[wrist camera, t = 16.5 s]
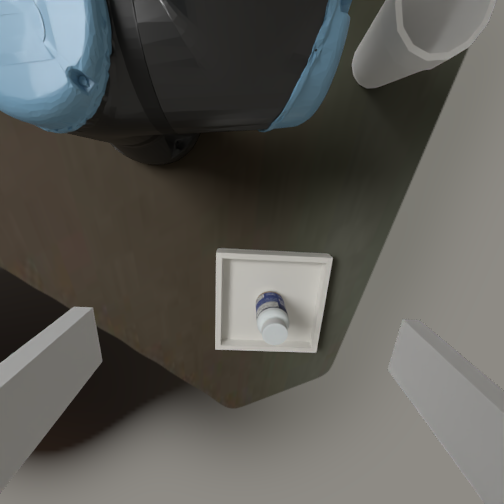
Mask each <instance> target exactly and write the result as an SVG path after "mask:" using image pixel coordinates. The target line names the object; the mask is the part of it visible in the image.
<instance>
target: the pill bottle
mask: <svg viewBox="0 0 504 504" xmlns="http://www.w3.org/2000/svg"><path fill="white" fill-rule="evenodd" d="M255 305H256V319H257V327H258V330H259V331H260V333H261V334H262V337H263V340H264V341H265V342H266V343H268V344H270V345H279V344H281V343H283V342H284V341H285V340H286V339H287V336H288V328H289V317H288V314H287V310H286V307H285V304H284V301H283V298H282V296H281V295H280V294H279V293H278V292H276V291H273V290H267V291H264V292H262V293H260V294H259V295H258V297H257V299H256V304H255Z"/></svg>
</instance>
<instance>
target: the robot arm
mask: <svg viewBox="0 0 504 504" xmlns="http://www.w3.org/2000/svg"><path fill="white" fill-rule="evenodd" d="M351 2H352V0H0V111H2V112H4V113H6V114H7V115H9V116H11V117H14V118H16V119H18V120H21V121H24V122H27V123H30V124H33V125H36V126H37V127H39V128H42V129H43V130H46V131H51V132H54V133H68V134H72V135H77V136H81V137H86V138H90V139H95V140H99V141H104V142H108V143H110V144H111V145H112V146H113V147H114V148H116V149H117V150H118V151H119V152H121V153H122V154H123V155H125V156H127V157H129V158H131V159H133V160H135V161H138V162H142V163H146V164H155V165H161V164H168V163H172V162H174V161H177V160H179V159H180V158H182V157H183V156H185V155H186V154H187V153H188V152H189V151H190V150H191V149H192V148H193V146H194V145H195V143H196V141H197V139H198V137H199V135H200V133H206V132H225V131H244V130H258V131H260V132H267V131H270V130H272V129H276V128H286V127H294V126H298V125H300V124H301V123H304V122H305V121H306V120H308V119H309V118H311V116H312V115H313V114H314V113H315V112H316V111H317V109H318V108H319V106H320V105H321V103H322V101H323V100H324V98H325V96H326V94H327V92H328V89H329V87H330V85H331V83H332V80H333V78H334V75H335V72H336V70H337V67H338V64H339V61H340V58H341V55H342V51H343V48H344V44H345V40H346V37H347V32H348V28H349V23H350V16H349V15H348V10H349V8H350V5H351ZM101 362H102V357H101V351H100V345H99V340H98V334H97V328H96V323H95V317H94V311H93V308H90V307H73V308H72V309H70V310H69V311H68V312H66V313H65V314H64V315H63V316H62V317H60V318H59V319H57V320H56V321H55V322H53V323H52V324H51V325H49V326H48V327H47V328H46V329H44V330H43V331H42V332H40V333H39V334H38V335H36V336H35V337H34V338H33V339H31V340H30V341H29V342H27V343H26V344H25V345H23V346H22V347H21V348H19V349H18V350H17V351H16V352H14V353H13V354H12V355H10V356H9V357H8V358H6V359H5V360H4V361H2V362H1V363H0V493H1V492H2V490H3V489H4V488H5V487H6V485H7V484H8V483H9V481H10V480H11V479H12V477H13V476H14V475H15V474H16V472H17V471H18V470H19V468H20V467H21V466H22V465H23V463H24V462H25V461H26V459H27V458H28V457H29V455H30V454H31V453H32V452H33V450H34V449H35V448H36V446H37V445H38V444H39V442H40V441H41V440H42V439H43V437H44V436H45V435H46V434H47V432H48V431H49V430H50V428H51V427H52V426H53V424H54V423H55V422H56V420H57V419H58V418H59V417H60V415H61V414H62V413H63V412H64V410H65V409H66V408H67V406H68V405H69V404H70V402H71V401H72V400H73V398H74V397H75V396H76V395H77V393H78V392H79V391H80V390H81V388H82V387H83V386H84V384H85V383H86V382H87V380H88V379H89V378H90V377H91V375H92V374H93V373H94V371H95V370H96V369H97V368H98V366H99V365H100V364H101ZM388 371H389V372H390V374H391V375H392V376H393V378H394V379H395V380H396V382H397V383H398V385H399V386H400V387H401V389H402V390H403V392H404V393H405V394H406V396H407V397H408V399H409V400H410V401H411V402H412V404H413V405H414V407H415V408H416V410H417V411H418V412H419V414H420V415H421V417H422V418H423V419H424V421H425V422H426V424H427V425H428V426H429V428H430V429H431V430H432V432H433V433H434V435H435V436H436V437H437V439H438V440H439V441H440V443H441V444H442V446H443V447H444V448H445V450H446V451H447V453H448V454H449V455H450V457H451V458H452V460H453V461H454V462H455V464H456V465H457V467H458V468H459V469H460V471H461V472H462V473H463V475H464V476H465V478H466V479H467V480H468V482H469V483H470V484H471V486H472V487H473V489H474V490H475V491H476V493H477V494H478V496H479V497H480V498H481V500H482V501H483V503H484V504H504V390H503V389H501V388H500V387H499V386H498V385H497V384H495V383H494V382H493V381H492V380H491V379H490V378H488V377H487V376H486V375H485V374H484V373H482V372H481V371H480V370H479V369H478V368H476V367H475V366H474V365H473V364H472V363H470V362H469V361H468V360H467V359H466V358H465V357H463V356H462V355H461V354H460V353H459V352H457V351H456V350H455V349H454V348H453V347H452V346H450V345H449V344H448V343H447V342H445V341H444V340H443V339H442V338H441V337H440V336H438V335H437V334H436V333H435V332H434V331H432V330H431V329H430V328H429V327H428V326H427V325H425V324H424V323H423V322H422V321H420V320H410V319H403V320H402V323H401V326H400V330H399V333H398V337H397V340H396V343H395V346H394V350H393V353H392V356H391V360H390V363H389V366H388Z"/></svg>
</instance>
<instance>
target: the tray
mask: <svg viewBox="0 0 504 504" xmlns="http://www.w3.org/2000/svg"><path fill="white" fill-rule="evenodd" d="M332 261H333V258H332V257H331V256H330V255H329V254H328V253H311V252H290V251H269V250H248V249H227V248H218V249H217V252H216V329H215V349H217V350H248V351H280V352H312V353H316V352H317V346H318V341H319V335H320V329H321V324H322V318H323V312H324V306H325V301H326V295H327V289H328V284H329V278H330V272H331V266H332ZM267 290H273V291H276V292H278V293H279V294H280V295H281V296H282V298H283V301H284V304H285V307H286V310H287V314H288V317H289V328H288V336H287V339H286V340H285V341H284V342H283V343H281V344H279V345H270V344H268V343H266V342H265V341H264V340H263V337H262V334H261V333H260V331H259V330H258V327H257V319H256V305H255V304H256V299H257V297H258V295H259V294H260V293H262V292H264V291H267Z"/></svg>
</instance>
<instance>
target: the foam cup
mask: <svg viewBox="0 0 504 504" xmlns="http://www.w3.org/2000/svg"><path fill="white" fill-rule="evenodd" d="M496 1H497V0H385V2H384V4H383V5H382V7H381V9H380V11H379V12H378V14H377V16H376V17H375V19H374V21H373V22H372V24H371V26H370V27H369V29H368V31H367V33H366V34H365V36H364V38H363V39H362V41H361V43H360V44H359V46H358V48H357V49H356V52H355V53H354V57H353V62H352V70H353V76H354V78H355V79H356V81H357V82H358V84H359V85H361V86H363V87H365V88H367V89H368V88H377V87H380V86H383V85H386V84H388V83H391V82H394V81H396V80H399V79H402V78H404V77H407V76H409V75H412V74H415V73H417V72H420V71H423V70H431V69H432V68H434V67H436V66H438V65H440V64H441V63H443V62H445V61H447V60H448V59H450V58H452V57H453V56H455V55H457V54H458V53H460V52H462V51H463V50H465V49H467V48H468V47H470V46H471V45H472V44H473V42H474V41H475V40H476V38H477V37H478V36H479V35H480V33H481V32H482V31H483V30H484V28H485V27H486V26H487V25H488V23H489V20H490V18H491V15H492V12H493V10H494V7H495V4H496Z"/></svg>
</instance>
